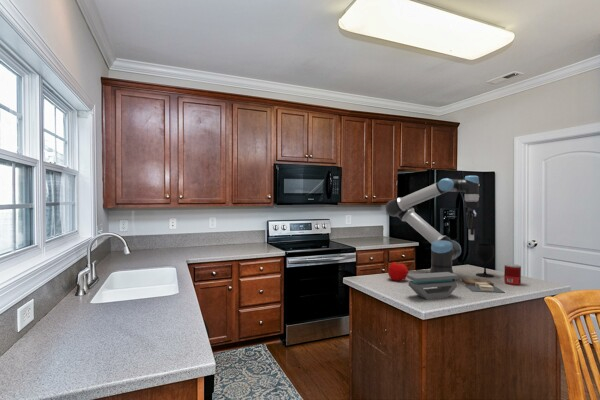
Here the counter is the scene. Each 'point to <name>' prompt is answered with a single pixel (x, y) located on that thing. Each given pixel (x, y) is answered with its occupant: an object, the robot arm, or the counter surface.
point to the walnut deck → (472, 282)
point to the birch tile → (484, 286)
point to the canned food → (512, 274)
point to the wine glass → (485, 257)
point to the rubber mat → (475, 289)
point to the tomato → (398, 271)
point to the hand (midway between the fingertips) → (471, 239)
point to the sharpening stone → (433, 284)
